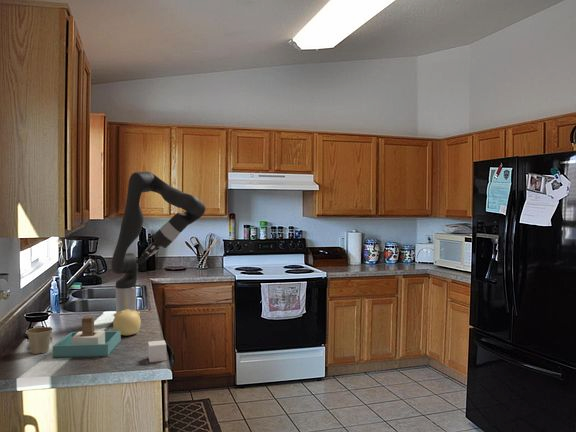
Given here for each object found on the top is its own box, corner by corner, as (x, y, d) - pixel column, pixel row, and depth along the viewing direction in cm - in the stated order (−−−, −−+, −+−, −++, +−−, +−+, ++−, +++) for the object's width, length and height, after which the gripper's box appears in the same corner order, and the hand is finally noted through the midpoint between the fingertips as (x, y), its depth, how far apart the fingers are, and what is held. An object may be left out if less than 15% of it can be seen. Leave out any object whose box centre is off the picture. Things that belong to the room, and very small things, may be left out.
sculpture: (140, 329, 231) (140, 306, 230) (141, 336, 219) (140, 311, 219) (113, 331, 227) (113, 307, 227) (113, 338, 216) (112, 313, 216)
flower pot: (56, 347, 203) (55, 326, 203) (49, 354, 194) (49, 332, 194) (31, 349, 202) (30, 327, 201) (23, 356, 192) (22, 333, 192)
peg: (85, 346, 202) (84, 316, 202) (94, 346, 202) (93, 316, 202) (82, 349, 198) (81, 319, 198) (92, 349, 199) (91, 318, 198)
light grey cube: (164, 355, 192) (164, 340, 192) (166, 360, 186) (166, 344, 186) (148, 357, 190) (148, 341, 190) (149, 362, 184) (149, 346, 184)
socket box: (71, 343, 210) (70, 328, 209) (120, 341, 211) (120, 327, 211) (53, 358, 190) (52, 342, 189) (108, 356, 191) (107, 340, 191)
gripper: (163, 227, 221) (136, 254, 221) (157, 229, 207) (129, 257, 207) (175, 239, 222) (149, 266, 221) (171, 242, 208) (142, 270, 207)
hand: (139, 262), depth 214 cm, fingers open, 8 cm apart
